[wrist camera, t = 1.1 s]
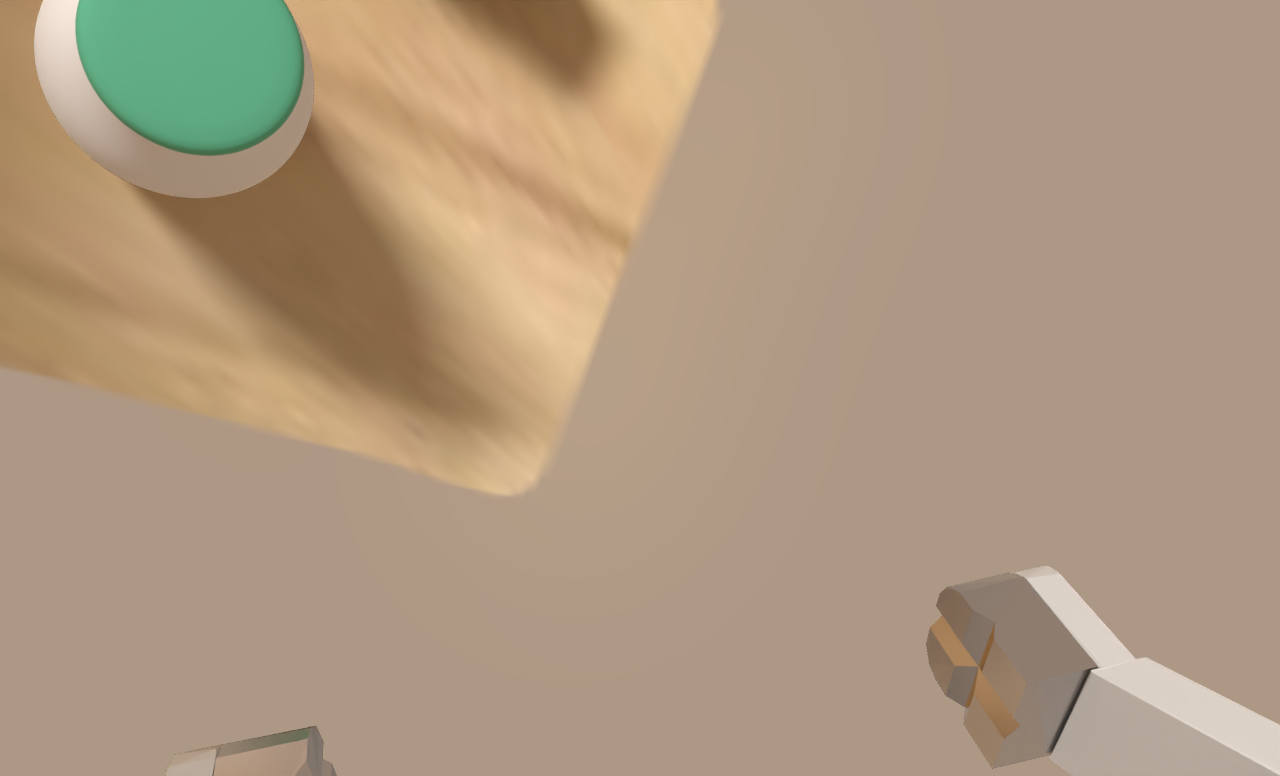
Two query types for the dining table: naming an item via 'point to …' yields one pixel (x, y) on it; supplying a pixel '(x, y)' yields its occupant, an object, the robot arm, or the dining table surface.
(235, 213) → the dining table surface
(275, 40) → the milk bottle
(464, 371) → the dining table surface
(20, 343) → the dining table surface
